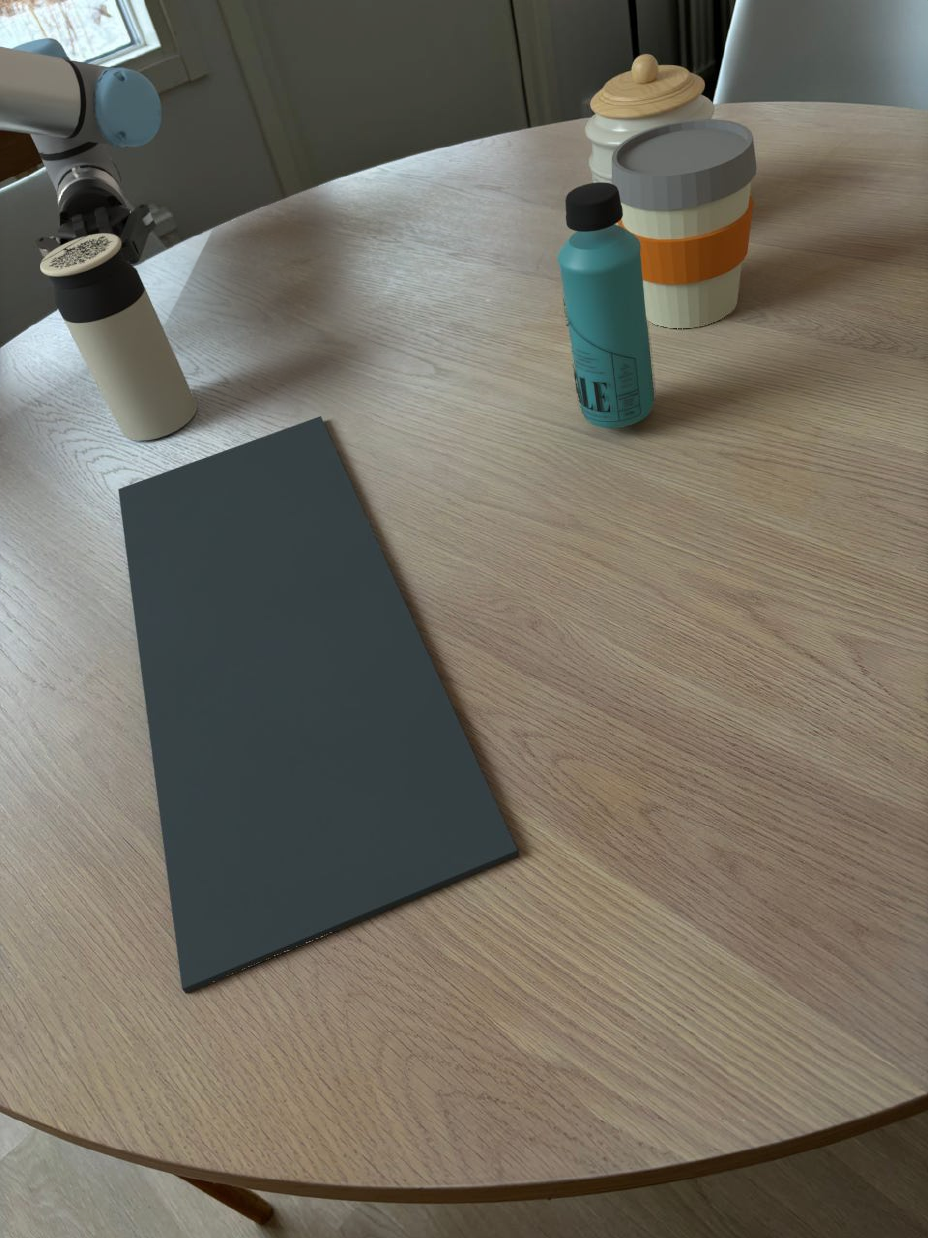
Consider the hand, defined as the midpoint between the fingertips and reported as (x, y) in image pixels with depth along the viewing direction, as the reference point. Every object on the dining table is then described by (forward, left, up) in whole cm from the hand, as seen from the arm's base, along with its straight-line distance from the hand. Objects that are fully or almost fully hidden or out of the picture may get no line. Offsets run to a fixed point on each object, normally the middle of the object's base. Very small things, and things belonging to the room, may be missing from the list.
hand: (105, 287), depth 99 cm
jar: (+57, -3, -12) cm, 58 cm away
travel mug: (0, -6, -12) cm, 14 cm away
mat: (+5, -44, -12) cm, 46 cm away
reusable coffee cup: (+52, -20, -12) cm, 57 cm away
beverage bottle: (+38, -34, -12) cm, 53 cm away
